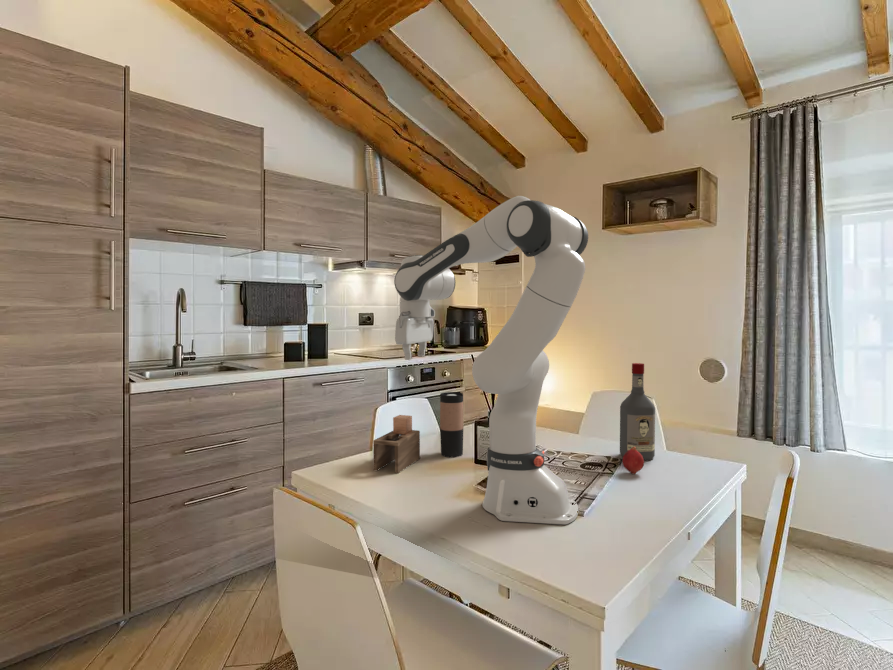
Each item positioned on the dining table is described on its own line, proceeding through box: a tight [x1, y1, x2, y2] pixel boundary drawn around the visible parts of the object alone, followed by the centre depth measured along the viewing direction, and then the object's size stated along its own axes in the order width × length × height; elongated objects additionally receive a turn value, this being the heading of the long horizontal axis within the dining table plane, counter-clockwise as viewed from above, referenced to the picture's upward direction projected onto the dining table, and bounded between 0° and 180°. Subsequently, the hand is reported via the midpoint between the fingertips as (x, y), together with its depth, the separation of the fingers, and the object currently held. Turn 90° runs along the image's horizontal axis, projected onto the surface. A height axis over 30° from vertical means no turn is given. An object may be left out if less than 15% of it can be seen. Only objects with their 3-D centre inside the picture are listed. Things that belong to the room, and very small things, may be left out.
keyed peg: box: [392, 414, 413, 441], centre depth 163 cm, size 4×4×8 cm
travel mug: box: [439, 391, 464, 458], centre depth 171 cm, size 8×8×20 cm
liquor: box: [619, 362, 656, 461], centre depth 167 cm, size 9×9×30 cm
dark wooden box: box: [372, 429, 421, 474], centre depth 160 cm, size 8×16×9 cm, turn 160°
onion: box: [621, 447, 645, 475], centre depth 150 cm, size 6×6×8 cm
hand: (415, 358), depth 154 cm, fingers open, 8 cm apart
